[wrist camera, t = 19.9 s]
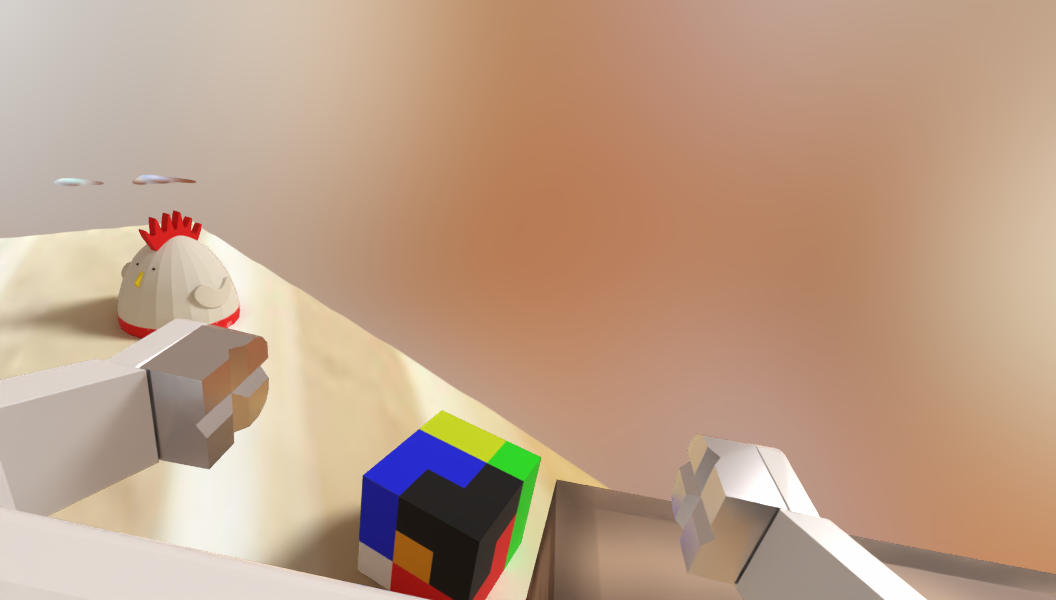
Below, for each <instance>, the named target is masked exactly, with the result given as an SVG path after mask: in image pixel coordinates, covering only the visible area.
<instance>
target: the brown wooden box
mask: <svg viewBox="0 0 1056 600" xmlns="http://www.w3.org/2000/svg"><path fill="white" fill-rule="evenodd" d="M683 531H684V529H683V528H682V527H681V526H680V525H679V524H678V523H677V521H676V520H675V518H674V514H673V509H672V501H666V500H661V499H656V498H651V497H645V496H640V495H635V494H630V493H625V492H619V491H614V490H609V489H603V488H598V487H593V486H588V485H582V484H577V483H572V482H566V481H561V480H557V481H556V485H555V489H554V493H553V496H552V500H551V504H550V508H549V512H548V516H547V520H546V524H545V528H544V532H543V535H542V539H541V543H540V547H539V551H538V555H537V559H536V563H535V567H534V570H533V574H532V578H531V582H530V586H529V590H528V594H527V598H526V600H744V599H743V598H742V596H741V595H740V594H739V592H738V591H737V590H736V588H735V587H736V585H732V584H728V583H724V582H720V581H716V580H711V579H707V578H703V577H699V576H695V575H691V574H687V570H686V566H685V562H684V557H683V553H682V549H681V545H680V541H679V540H680V538H681V536H682V534H683ZM848 536H850V537H851V538H852V539H853V540H855V541H856V542H857V543H858V544H859V545H861V546H862V547H863V548H864V549H866V550H867V551H868V552H869V553H870V554H872V555H873V556H874V557H875V558H877V559H878V560H879V561H880V562H881V563H883V564H884V565H885V566H886V567H888V568H889V569H890V570H891V571H893V572H894V573H895V574H896V575H897V576H899V577H900V578H901V579H902V580H904V581H905V582H906V583H907V584H908V585H910V586H911V587H912V588H913V589H915V590H916V591H917V592H918V593H919V594H921V595H922V596H923V597H924V598H926V599H927V600H1056V574H1052V573H1047V572H1041V571H1036V570H1031V569H1025V568H1021V567H1015V566H1009V565H1005V564H999V563H994V562H988V561H984V560H978V559H973V558H967V557H962V556H957V555H952V554H947V553H941V552H936V551H931V550H925V549H920V548H915V547H910V546H904V545H899V544H894V543H889V542H883V541H878V540H873V539H867V538H862V537H857V536H852V535H848Z"/></svg>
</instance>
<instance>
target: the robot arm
mask: <svg viewBox="0 0 1056 600" xmlns="http://www.w3.org/2000/svg"><path fill="white" fill-rule="evenodd" d="M267 358H268V347H267V342H266V341H265V339H264V338H263V337H261V336H257V335H253V334H248V333H244V332H240V331H236V330H232V329H228V328H224V327H220V326H215V325H209V324H207V323H203V322H198V321H194V320H189V319H174V320H173V321H171V322H169V323H168V324H166V325H164V326H163V327H161V328H159V329H158V330H156V331H154V332H153V333H151V334H149V335H148V336H146V337H144V338H143V339H141V340H139V341H138V342H136V343H134V344H133V345H131V346H129V347H128V348H126V349H124V350H123V351H121V352H119V353H118V354H116V355H114V356H113V357H111V358H109V359H108V360H106V361H104V360H99V359H93V360H89V361H84V362H80V363H75V364H70V365H66V366H61V367H57V368H52V369H47V370H43V371H38V372H34V373H29V374H24V375H20V376H15V377H11V378H6V379H2V380H0V600H429V599H424V598H420V597H415V596H411V595H406V594H401V593H397V592H392V591H387V590H383V589H378V588H374V587H369V586H364V585H360V584H355V583H351V582H346V581H341V580H337V579H332V578H327V577H323V576H318V575H314V574H309V573H304V572H300V571H295V570H291V569H286V568H281V567H277V566H272V565H267V564H263V563H258V562H254V561H249V560H244V559H240V558H235V557H231V556H226V555H221V554H217V553H212V552H207V551H203V550H198V549H194V548H189V547H184V546H180V545H175V544H171V543H166V542H161V541H157V540H152V539H148V538H143V537H138V536H134V535H129V534H124V533H120V532H115V531H111V530H106V529H101V528H97V527H92V526H88V525H83V524H78V523H74V522H69V521H65V520H60V519H55V518H51V517H47V516H49V515H51V514H53V513H55V512H57V511H59V510H61V509H64V508H66V507H68V506H70V505H72V504H74V503H76V502H78V501H80V500H82V499H84V498H86V497H88V496H90V495H92V494H94V493H96V492H99V491H101V490H103V489H105V488H107V487H109V486H111V485H113V484H115V483H117V482H119V481H121V480H123V479H125V478H127V477H129V476H132V475H134V474H136V473H138V472H140V471H142V470H144V469H146V468H148V467H150V466H152V465H154V464H156V463H158V462H159V460H163V461H168V462H174V463H179V464H184V465H190V466H195V467H200V468H206V469H210V468H211V467H212V466H213V465H214V464H215V463H216V462H217V461H218V460H219V458H220V457H221V456H222V455H223V454H224V453H225V452H226V451H227V450H228V449H229V448H230V447H231V446H232V445H233V444H234V432H236V431H239V430H241V429H244V428H247V427H249V426H250V425H251V424H252V423H253V422H254V421H255V419H256V418H257V417H258V416H259V414H260V412H261V410H262V408H263V406H264V404H265V402H266V399H267V394H268V389H269V378H268V376H267V375H266V374H265V372H264V371H263V369H262V368H261V365H262V364H263V363H264V361H265V360H266V359H267ZM687 451H688V454H689V457H690V460H691V461H690V462H688V463H687V464H686V465H684V466H682V467H680V468H679V470H678V473H677V476H676V478H675V481H674V485H673V492H672V509H673V514H674V518H675V520H676V521H677V523H678V524H679V525H680V526H681V527H682V528H683V529H684V531H683V534H682V536H681V538H680V540H679V541H680V545H681V549H682V553H683V557H684V562H685V566H686V570H687V574H691V575H695V576H699V577H703V578H707V579H711V580H716V581H720V582H724V583H728V584H732V585H736V587H735V588H736V590H737V591H738V592H739V594H740V595H741V596H742V598H743V599H744V600H927V599H926V598H924V597H923V596H922V595H921V594H919V593H918V592H917V591H916V590H915V589H913V588H912V587H911V586H910V585H908V584H907V583H906V582H905V581H904V580H902V579H901V578H900V577H899V576H897V575H896V574H895V573H894V572H893V571H891V570H890V569H889V568H888V567H886V566H885V565H884V564H883V563H881V562H880V561H879V560H878V559H877V558H875V557H874V556H873V555H872V554H870V553H869V552H868V551H867V550H866V549H864V548H863V547H862V546H861V545H859V544H858V543H857V542H856V541H855V540H853V539H852V538H851V537H850V536H848V535H847V534H846V533H845V532H843V531H842V530H841V529H840V528H839V527H837V526H836V525H835V524H834V523H832V522H831V521H830V520H828V519H824V518H820V517H819V515H818V513H817V512H816V510H815V508H814V506H813V504H812V503H811V501H810V499H809V497H808V496H807V494H806V492H805V490H804V488H803V487H802V485H801V483H800V481H799V480H798V478H797V476H796V474H795V473H794V471H793V469H792V467H791V465H790V464H789V462H788V460H787V458H786V456H785V455H784V453H782V452H781V451H780V450H779V449H776V448H771V447H766V446H760V445H755V444H746V443H741V442H737V441H732V440H727V439H722V438H717V437H712V436H708V435H703V434H698V433H697V434H696V435H695V436H694V438H693V439H692V441H691V443H690V445H689V447H688V449H687Z"/></svg>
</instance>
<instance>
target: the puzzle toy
mask: <svg viewBox="0 0 1056 600" xmlns="http://www.w3.org/2000/svg"><path fill="white" fill-rule="evenodd" d="M540 461H541V457H540V456H537V455H535V454H533V453H531V452H529V451H527V450H525V449H523V448H521V447H518V446H516V445H514V444H512V443H510V442H508V441H506V440H504V439H502V438H499V437H497V436H495V435H493V434H491V433H489V432H487V431H485V430H483V429H480V428H478V427H476V426H474V425H472V424H470V423H468V422H466V421H464V420H462V419H459V418H457V417H455V416H453V415H451V414H449V413H447V412H445V411H443V410H442V411H440V412H439V413H438V414H437V415H436V416H434V417H433V418H432V419H431V420H430V421H428V422H427V423H426V424H425V425H424V426H422V427H421V428H420V429H419V430H417V431H416V432H415V433H414V434H413V435H411V436H410V437H409V438H408V439H407V440H405V441H404V442H403V443H402V444H401V445H399V446H398V447H397V448H396V449H394V450H393V451H392V452H391V453H390V454H388V455H387V456H386V457H385V458H384V459H382V460H381V461H380V462H379V463H378V464H376V465H375V466H374V467H373V468H371V469H370V470H369V471H368V472H367V473H365V474H364V475H363V481H362V498H361V516H360V533H359V550H358V567H357V570H358V571H360V572H361V573H363V574H365V575H366V576H368V577H369V578H371V579H372V580H374V581H375V582H377V583H378V584H380V585H381V586H383V587H385V588H386V589H388V590H389V591H392V592H397V593H401V594H406V595H411V596H415V597H420V598H424V599H429V600H485V599H486V598H487V596H488V594H489V593H490V591H491V590H492V588H493V586H494V585H495V583H496V582H497V580H498V579H499V577H500V575H501V574H502V572H503V571H504V569H505V567H506V566H507V564H508V563H509V561H510V559H511V558H512V556H513V555H514V553H515V552H516V550H517V548H518V547H519V545H520V544H521V541H522V537H523V533H524V529H525V524H526V520H527V516H528V512H529V508H530V503H531V499H532V495H533V491H534V486H535V482H536V478H537V474H538V470H539V465H540Z"/></svg>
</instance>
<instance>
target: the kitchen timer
mask: <svg viewBox="0 0 1056 600" xmlns="http://www.w3.org/2000/svg"><path fill="white" fill-rule="evenodd" d="M191 225H192V218H190V217H186V216H185V217H184V220H183V221H182V217H181V213H180V212H177V211H173V215H172V221H171V218H170V215H169V214H166V213H163V215H162V224H161V228H160V226H159V223H158V221H157V220H156V219H154V218H151V217H149V229H150V234H148V233H147V232H146V231H144V230H140V229H139V232H140V234H141V236H142V238H143V239H144V241H145V242H146V243H147V245H146V246H144V247H143V248H142V249H141V250H140V251H139V252H138V253H137V254H136V256H135V257H134V258H133V260H132V261H131V262H130V263H127V264H126V265H125V266H124V267H123V269H122V278H123V280H122V284H121V288H120V292H119V296H118V302H117V313H118V318H119V323H120V326H121V329H123V330H124V331H125V332H127V333H128V334H130V335H133V336H136V337H139V338H144V337H146V336H148V335H149V334H151V333H153V332H154V331H156V330H158V329H159V328H161V327H163V326H164V325H166V324H168V323H169V322H171V321H173V320H174V319H189V320H194V321H198V322H203V323H207V324H209V325H215V326H220V327H224V328H228V327H229V326H231V325H233V324H234V323H235V322H236V321H237V319H238V318H239V314H240V308H239V298H238V294H237V291H236V288H235V286H234V284H233V282H232V280H231V277H230V275H229V273H228V271H227V270H226V268H225V266H224V265H223V264H222V262H221V261H220V260H219V259H218V257H217V256H216V255H215V254H214V253H213V252H212V251H211V250H210V249H209V248H208V247H206V246H205V245H203V244H202V243H200V242H198V241H197V240H198V238H199V235H200V231H201V224H199V223H195V224H194V226H193V229H192V231H191Z"/></svg>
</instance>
